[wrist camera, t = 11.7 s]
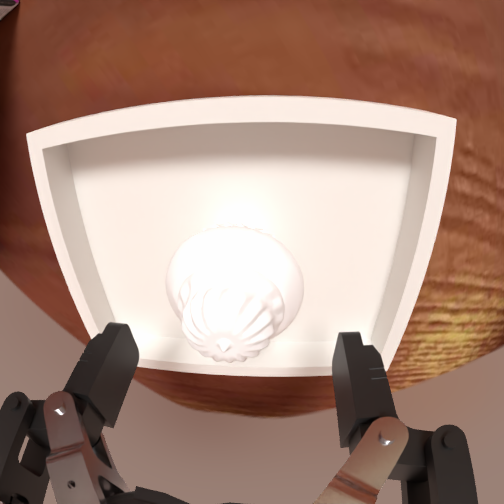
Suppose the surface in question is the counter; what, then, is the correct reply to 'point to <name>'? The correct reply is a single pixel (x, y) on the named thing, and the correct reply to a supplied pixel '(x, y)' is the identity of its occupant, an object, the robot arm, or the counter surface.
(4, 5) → the candy bar box
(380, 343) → the tray
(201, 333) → the muffin
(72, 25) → the counter surface
